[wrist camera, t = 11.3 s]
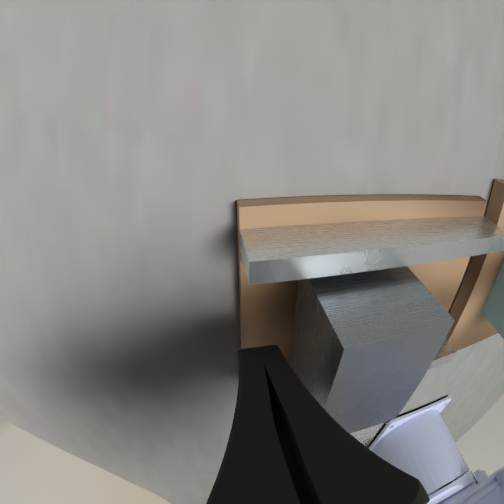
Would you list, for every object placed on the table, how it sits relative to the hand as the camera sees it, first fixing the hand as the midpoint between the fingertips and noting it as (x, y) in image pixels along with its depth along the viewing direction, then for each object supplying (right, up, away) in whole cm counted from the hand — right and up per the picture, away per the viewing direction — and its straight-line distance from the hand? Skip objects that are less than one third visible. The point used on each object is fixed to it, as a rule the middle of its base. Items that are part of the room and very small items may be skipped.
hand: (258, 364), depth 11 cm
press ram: (+3, +1, +2) cm, 4 cm away
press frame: (+10, +2, +4) cm, 11 cm away
